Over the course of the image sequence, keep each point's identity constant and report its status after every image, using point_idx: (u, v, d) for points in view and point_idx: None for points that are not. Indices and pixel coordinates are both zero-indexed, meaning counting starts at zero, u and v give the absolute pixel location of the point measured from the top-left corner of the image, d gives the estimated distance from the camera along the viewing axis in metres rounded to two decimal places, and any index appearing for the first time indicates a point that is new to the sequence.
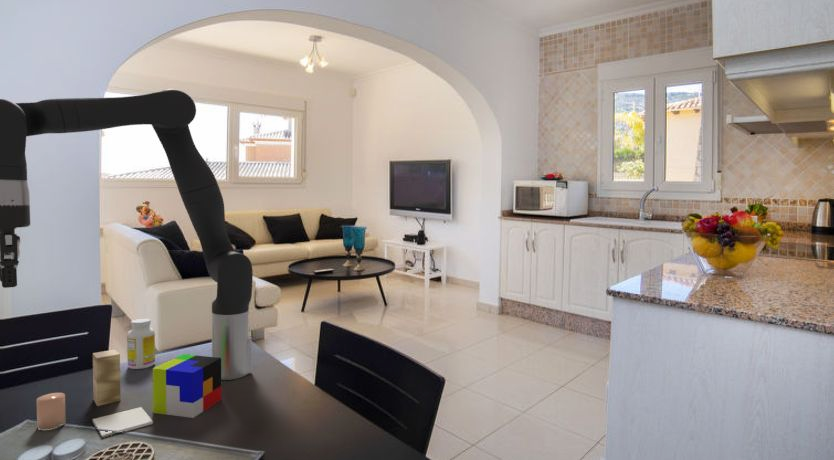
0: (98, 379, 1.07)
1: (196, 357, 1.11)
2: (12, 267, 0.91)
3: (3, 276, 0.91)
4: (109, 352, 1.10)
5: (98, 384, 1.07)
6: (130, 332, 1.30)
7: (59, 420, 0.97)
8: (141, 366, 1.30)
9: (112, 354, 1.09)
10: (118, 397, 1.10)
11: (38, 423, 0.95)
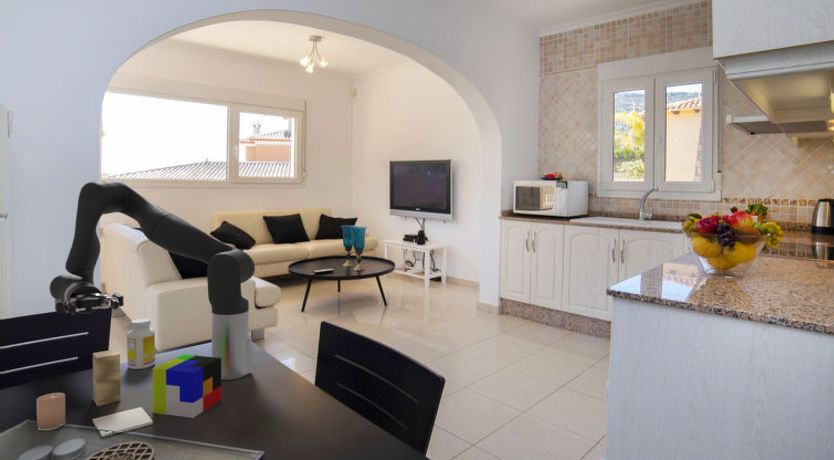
0: (98, 379, 1.07)
1: (196, 357, 1.11)
2: (64, 306, 1.16)
3: None
4: (109, 352, 1.10)
5: (98, 384, 1.07)
6: (130, 332, 1.30)
7: (59, 420, 0.97)
8: (141, 366, 1.30)
9: (112, 354, 1.09)
10: (118, 397, 1.10)
11: (38, 423, 0.95)
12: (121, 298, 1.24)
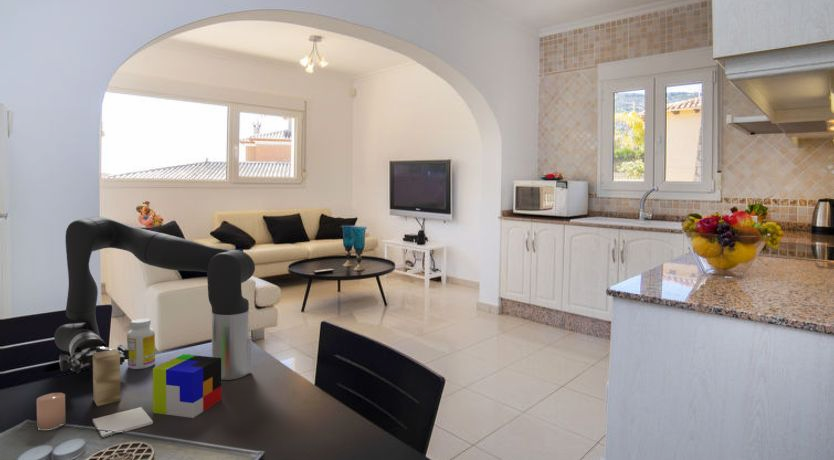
0: (98, 379, 1.07)
1: (196, 357, 1.11)
2: (69, 363, 1.14)
3: None
4: (109, 352, 1.10)
5: (98, 384, 1.07)
6: (130, 332, 1.30)
7: (59, 420, 0.97)
8: (141, 366, 1.30)
9: (112, 354, 1.09)
10: (118, 397, 1.10)
11: (38, 423, 0.95)
12: (126, 351, 1.22)
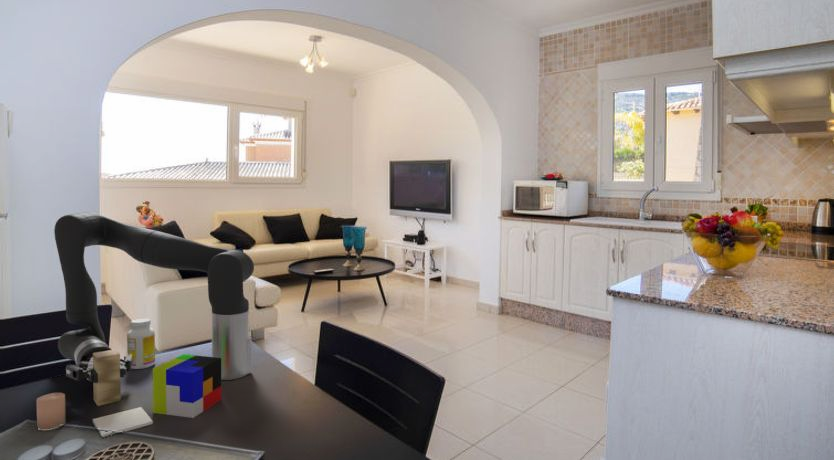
0: (98, 379, 1.07)
1: (196, 357, 1.11)
2: (85, 373, 1.08)
3: None
4: (109, 352, 1.10)
5: (98, 384, 1.07)
6: (130, 332, 1.30)
7: (59, 420, 0.97)
8: (141, 366, 1.30)
9: (112, 354, 1.09)
10: (118, 397, 1.10)
11: (38, 423, 0.95)
12: (128, 362, 1.14)
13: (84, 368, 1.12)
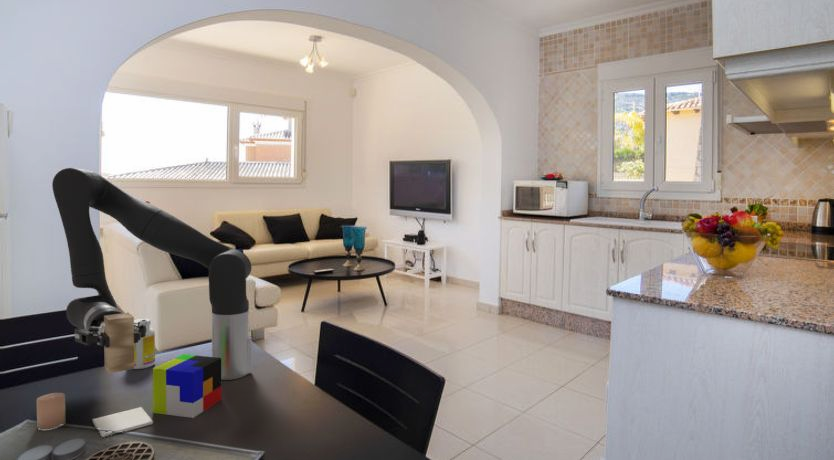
0: (110, 343, 0.96)
1: (196, 357, 1.11)
2: (96, 337, 0.97)
3: None
4: (122, 315, 1.00)
5: (110, 349, 0.96)
6: None
7: (59, 420, 0.97)
8: (141, 366, 1.30)
9: (125, 317, 0.98)
10: (132, 364, 0.99)
11: (38, 423, 0.95)
12: (142, 328, 1.03)
13: (94, 333, 1.02)
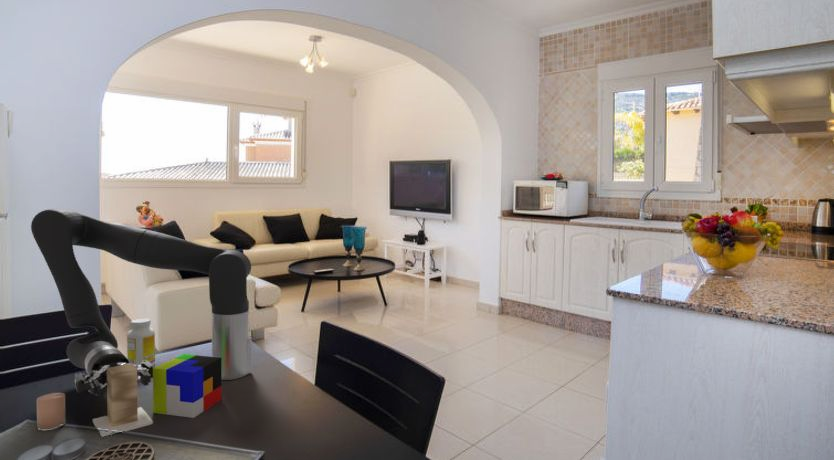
0: (113, 397, 0.96)
1: (196, 357, 1.11)
2: (87, 384, 0.96)
3: None
4: (125, 367, 0.99)
5: (113, 403, 0.96)
6: (130, 332, 1.30)
7: (59, 420, 0.97)
8: None
9: (128, 369, 0.98)
10: (135, 417, 0.99)
11: (38, 423, 0.95)
12: (152, 369, 1.05)
13: None
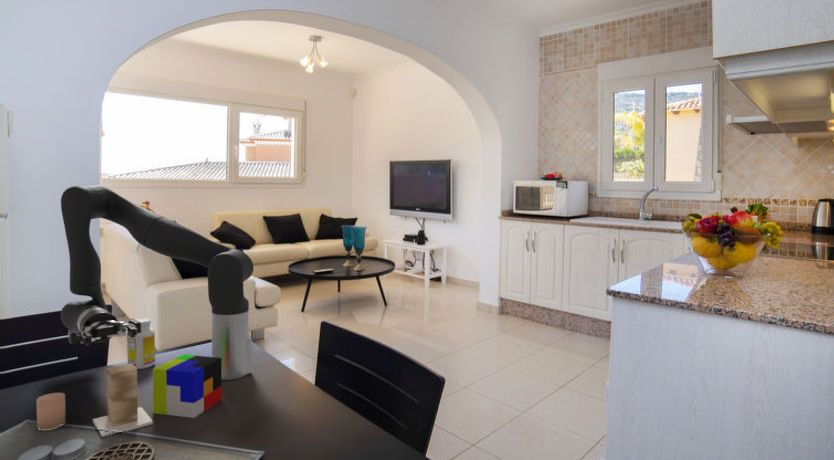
0: (113, 397, 0.96)
1: (196, 357, 1.11)
2: (79, 336, 1.07)
3: None
4: (125, 367, 0.99)
5: (113, 403, 0.96)
6: None
7: (59, 420, 0.97)
8: (141, 366, 1.30)
9: (128, 369, 0.98)
10: (135, 417, 0.99)
11: (38, 423, 0.95)
12: (138, 324, 1.16)
13: None
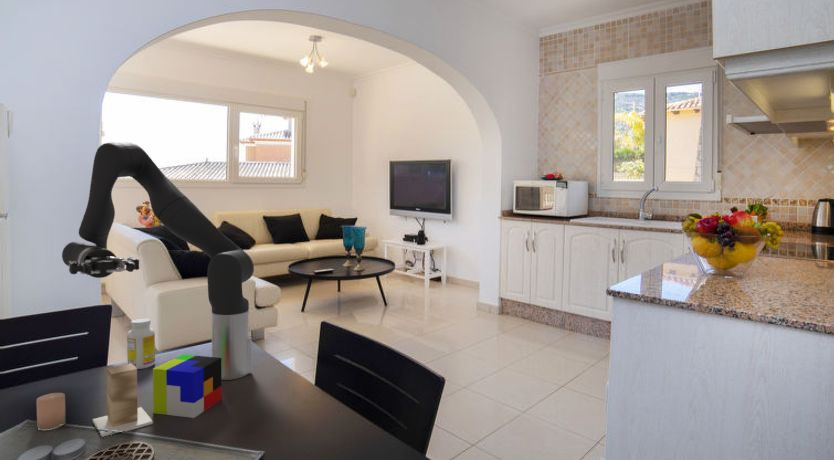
0: (113, 397, 0.96)
1: (196, 357, 1.11)
2: (79, 266, 1.12)
3: (85, 272, 1.11)
4: (125, 367, 0.99)
5: (113, 403, 0.96)
6: (130, 332, 1.30)
7: (59, 420, 0.97)
8: (141, 366, 1.30)
9: (128, 369, 0.98)
10: (135, 417, 0.99)
11: (38, 423, 0.95)
12: (137, 261, 1.20)
13: None
